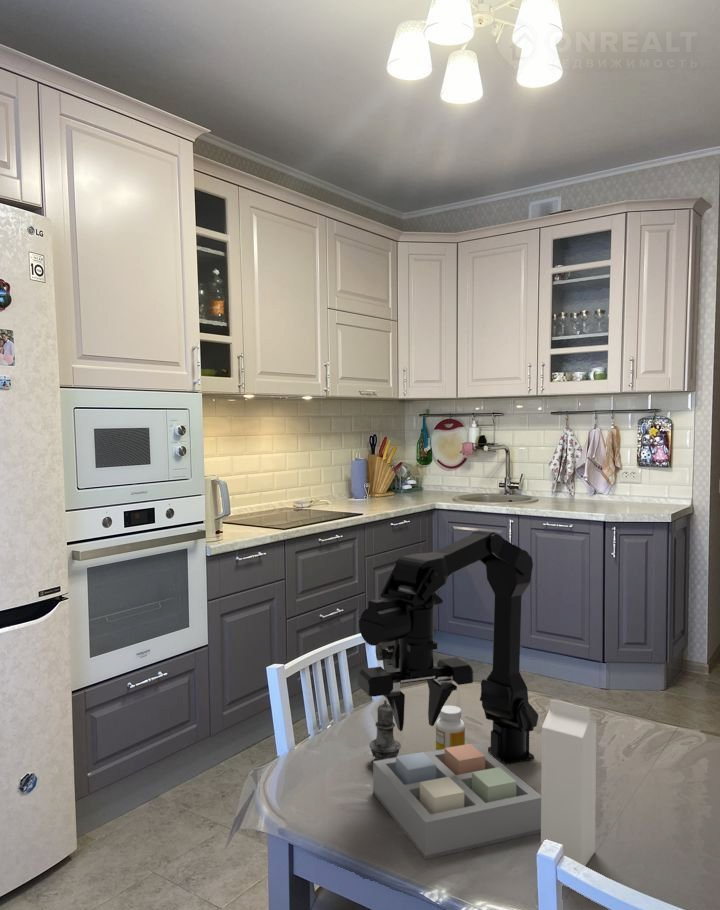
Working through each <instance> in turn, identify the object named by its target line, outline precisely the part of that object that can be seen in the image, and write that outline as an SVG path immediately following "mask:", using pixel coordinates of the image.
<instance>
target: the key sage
mask: <svg viewBox="0 0 720 910" xmlns="http://www.w3.org/2000/svg"><path fill="white" fill-rule="evenodd" d="M472 791H473V792H474V793H475V794H476V795H477V796H479V797H480V798H481V799H482V800H483V801H484V802H485V803H488V802H493V801H498V800H503V799H507V798H512V797H516V781H515V780H514V779H513V778H512V777H510V776H509V775H508V774H507V773H506V772H504V771H503V770H502V769H501V768H499V767H497V768H492V769H486V770H481V771H476V772H472Z"/></svg>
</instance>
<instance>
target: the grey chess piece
mask: <svg viewBox="0 0 720 910" xmlns="http://www.w3.org/2000/svg"><path fill="white" fill-rule="evenodd" d="M375 726H376V738H374V739H373V740H371V741H370V742H369V748H370V751H371V753H372V757H374V758H373V759H372V760H371V762H370V767H372V768H373V761H378V760H384V759H389V758H395V757H396V756H399V752H400V750H401V747H402V744H401V743H400V741H398V740H397V739H395V738H394V728H395V726H396V723H394V716H393V713H392V710H391V707H390V704H389V703H388V700H386V699H384V701H383V703H382V704H380V705H379V706H378V707H377V721H376V723H375Z"/></svg>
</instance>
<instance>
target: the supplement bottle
mask: <svg viewBox="0 0 720 910" xmlns="http://www.w3.org/2000/svg"><path fill="white" fill-rule="evenodd" d="M465 726H466V725H465V723H464V721H463V720H462V709H461V708H460V707H459V706H455V705H444V706H443V708H442V710H441V712H440V714H439V717H438V718H437V720H436V722H435V751H436V750H441V749H445V748H449V747H454V746H460V745H466V743H465V742H466V741H465V740H466V737H465V736H466V735H465V734H466V733H465V732H466V729H465V728H466V727H465Z"/></svg>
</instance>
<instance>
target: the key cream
mask: <svg viewBox="0 0 720 910" xmlns="http://www.w3.org/2000/svg"><path fill="white" fill-rule="evenodd" d="M420 803H421V804H422V805H423V806H424V808H425V809H426V810H427V811H428V812H429V813H430V814H436V813H441V812H445V811H450V810H455V809H460V808H464V791H463V790H462V789H461V788H460V787H459V786H458V785H457V784H456V783H455V782H454V781H453V780H452V779H450V778H449V777H444V778H439V779H434V780H428V781H423V782H420Z"/></svg>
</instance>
